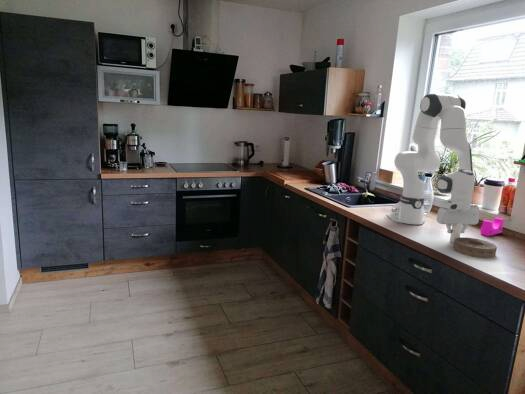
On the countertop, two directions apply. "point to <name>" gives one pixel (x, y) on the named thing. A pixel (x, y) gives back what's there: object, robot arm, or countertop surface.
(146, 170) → the countertop surface
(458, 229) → the dowel
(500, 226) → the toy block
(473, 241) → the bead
